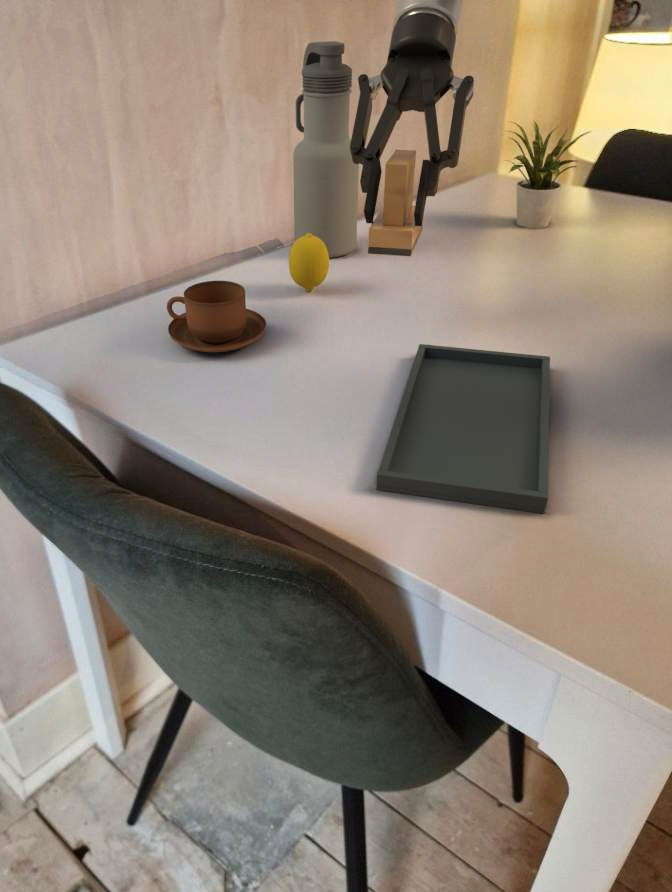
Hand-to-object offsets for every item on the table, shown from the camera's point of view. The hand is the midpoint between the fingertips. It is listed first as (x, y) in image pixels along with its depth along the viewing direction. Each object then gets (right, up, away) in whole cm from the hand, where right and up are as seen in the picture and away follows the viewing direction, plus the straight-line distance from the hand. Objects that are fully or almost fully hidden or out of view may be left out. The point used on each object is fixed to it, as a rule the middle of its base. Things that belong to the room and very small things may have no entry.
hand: (393, 218), depth 87 cm
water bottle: (-6, +8, +34) cm, 36 cm away
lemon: (-9, -3, +20) cm, 22 cm away
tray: (+7, -24, -9) cm, 27 cm away
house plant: (+28, +16, +43) cm, 53 cm away
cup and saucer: (-21, -12, +8) cm, 25 cm away
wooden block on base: (+1, -1, +5) cm, 5 cm away
